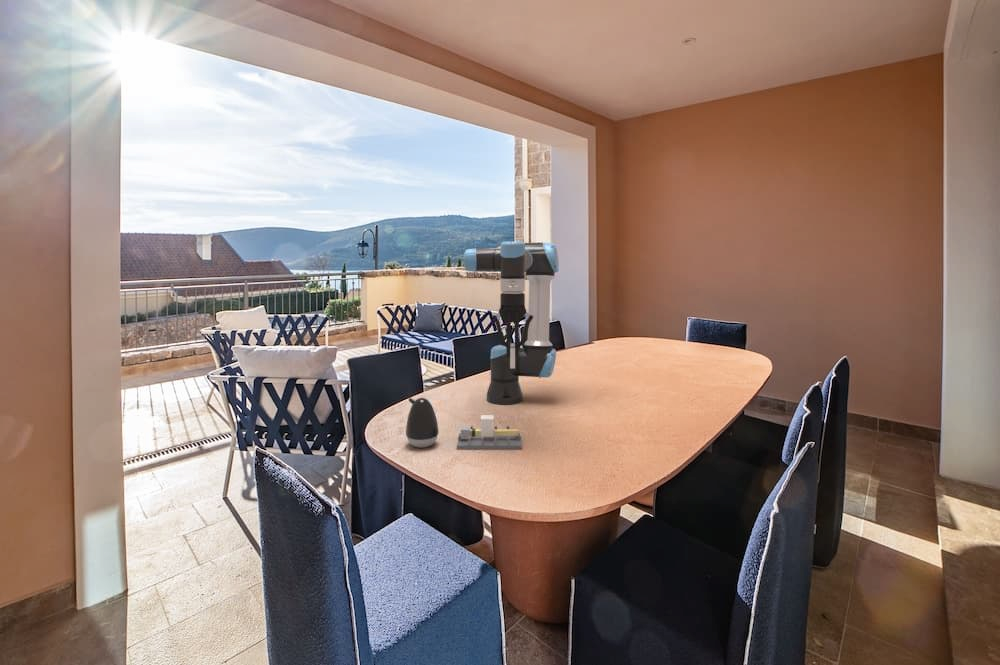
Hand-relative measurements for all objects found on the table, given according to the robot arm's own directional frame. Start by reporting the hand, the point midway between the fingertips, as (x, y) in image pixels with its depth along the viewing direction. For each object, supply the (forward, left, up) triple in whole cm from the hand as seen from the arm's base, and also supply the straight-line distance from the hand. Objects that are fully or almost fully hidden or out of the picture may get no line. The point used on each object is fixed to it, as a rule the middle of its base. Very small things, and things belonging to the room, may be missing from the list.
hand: (512, 367), depth 153 cm
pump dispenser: (-21, -19, -25) cm, 38 cm away
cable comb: (-5, -5, -24) cm, 25 cm away
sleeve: (-6, -6, -22) cm, 23 cm away
